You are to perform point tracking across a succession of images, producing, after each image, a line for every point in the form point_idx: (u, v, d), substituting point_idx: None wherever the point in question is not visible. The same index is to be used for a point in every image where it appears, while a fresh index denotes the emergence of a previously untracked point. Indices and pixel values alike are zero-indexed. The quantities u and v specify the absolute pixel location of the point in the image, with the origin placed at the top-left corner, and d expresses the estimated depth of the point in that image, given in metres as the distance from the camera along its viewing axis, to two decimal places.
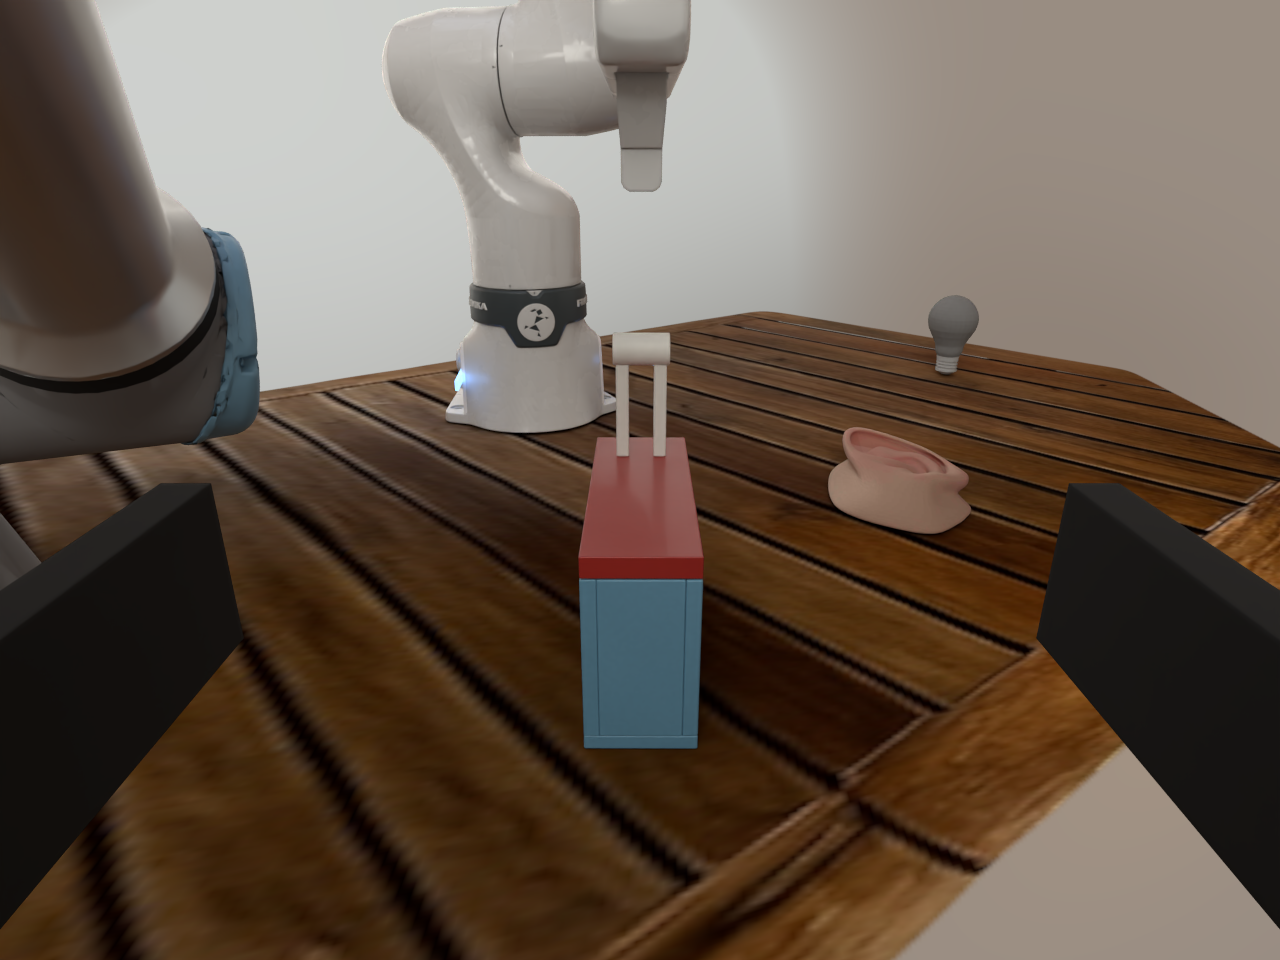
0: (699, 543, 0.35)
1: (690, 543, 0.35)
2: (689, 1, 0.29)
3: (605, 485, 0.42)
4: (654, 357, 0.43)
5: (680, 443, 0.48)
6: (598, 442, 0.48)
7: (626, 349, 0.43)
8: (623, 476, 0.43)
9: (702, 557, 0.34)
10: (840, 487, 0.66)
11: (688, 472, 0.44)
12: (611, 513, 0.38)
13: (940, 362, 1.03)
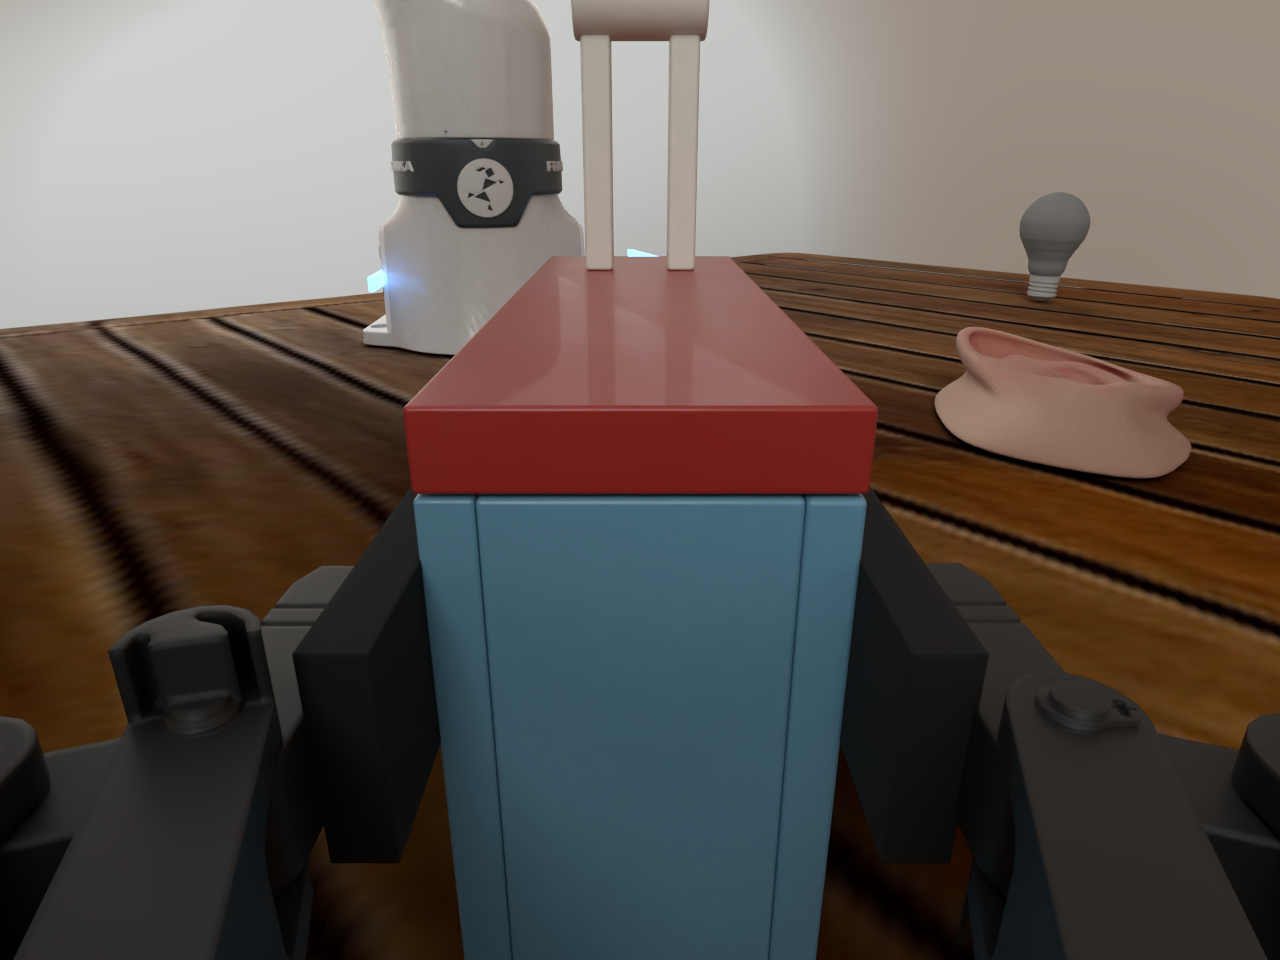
0: (843, 377, 0.10)
1: (812, 379, 0.10)
2: None
3: (549, 296, 0.17)
4: (671, 6, 0.18)
5: (723, 260, 0.23)
6: (550, 259, 0.23)
7: None
8: (597, 287, 0.18)
9: (873, 408, 0.09)
10: (963, 413, 0.41)
11: (752, 283, 0.18)
12: (553, 330, 0.13)
13: (1035, 283, 0.78)
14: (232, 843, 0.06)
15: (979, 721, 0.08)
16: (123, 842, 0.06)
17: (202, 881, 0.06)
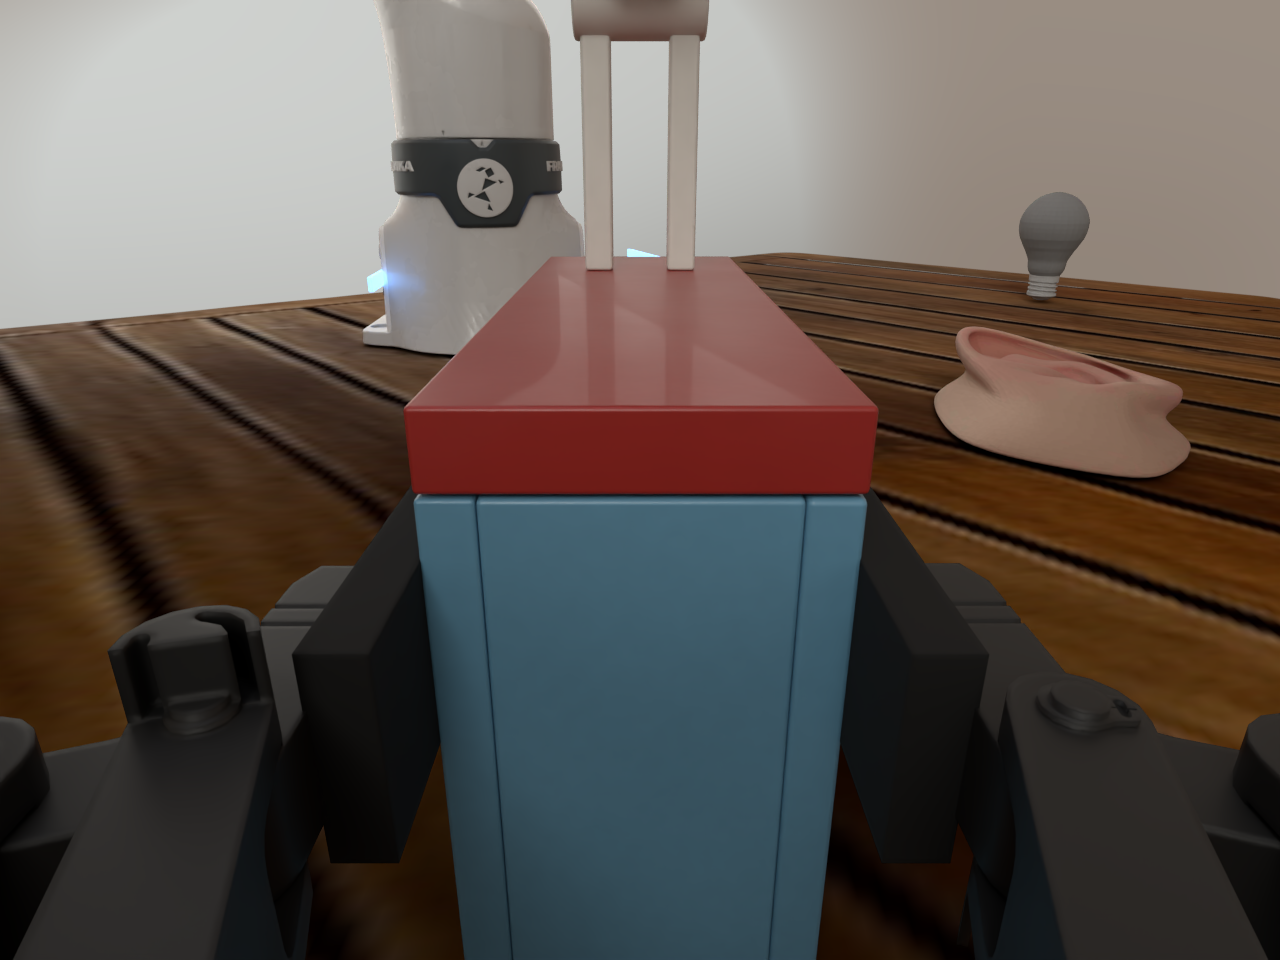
0: (843, 378, 0.10)
1: (813, 379, 0.10)
2: None
3: (549, 296, 0.17)
4: (671, 6, 0.18)
5: (722, 260, 0.23)
6: (550, 260, 0.23)
7: None
8: (596, 288, 0.18)
9: (874, 409, 0.09)
10: (962, 412, 0.41)
11: (752, 284, 0.18)
12: (552, 330, 0.13)
13: (1035, 283, 0.78)
14: (232, 843, 0.06)
15: (979, 722, 0.08)
16: (122, 841, 0.06)
17: (202, 881, 0.06)
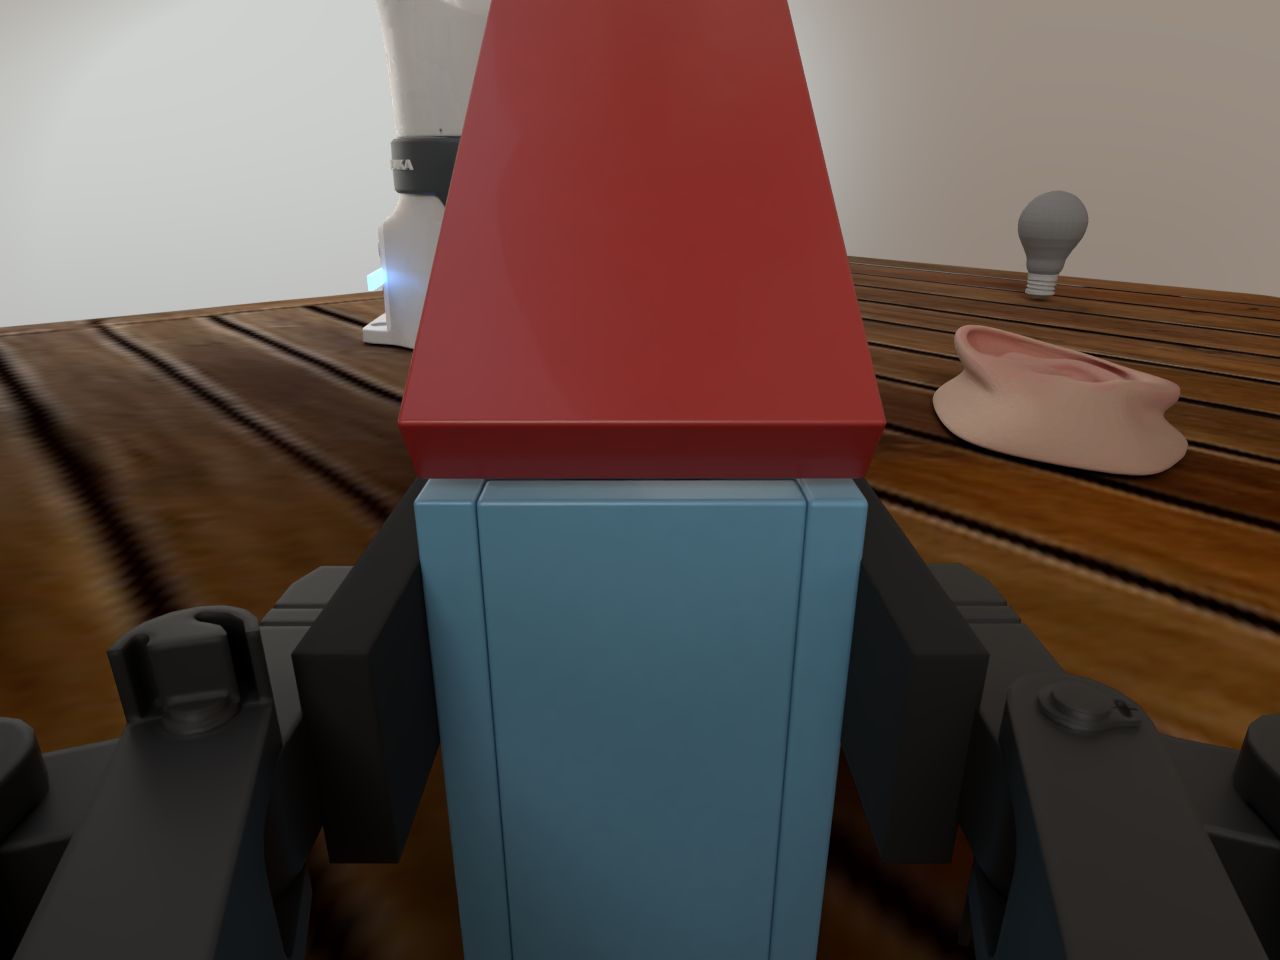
0: (859, 337, 0.09)
1: (826, 339, 0.09)
2: None
3: (528, 47, 0.13)
4: None
5: None
6: None
7: None
8: (584, 10, 0.14)
9: (882, 423, 0.09)
10: (961, 410, 0.41)
11: None
12: (539, 175, 0.11)
13: (1034, 281, 0.78)
14: (231, 843, 0.06)
15: (980, 721, 0.08)
16: (122, 842, 0.06)
17: (201, 881, 0.06)
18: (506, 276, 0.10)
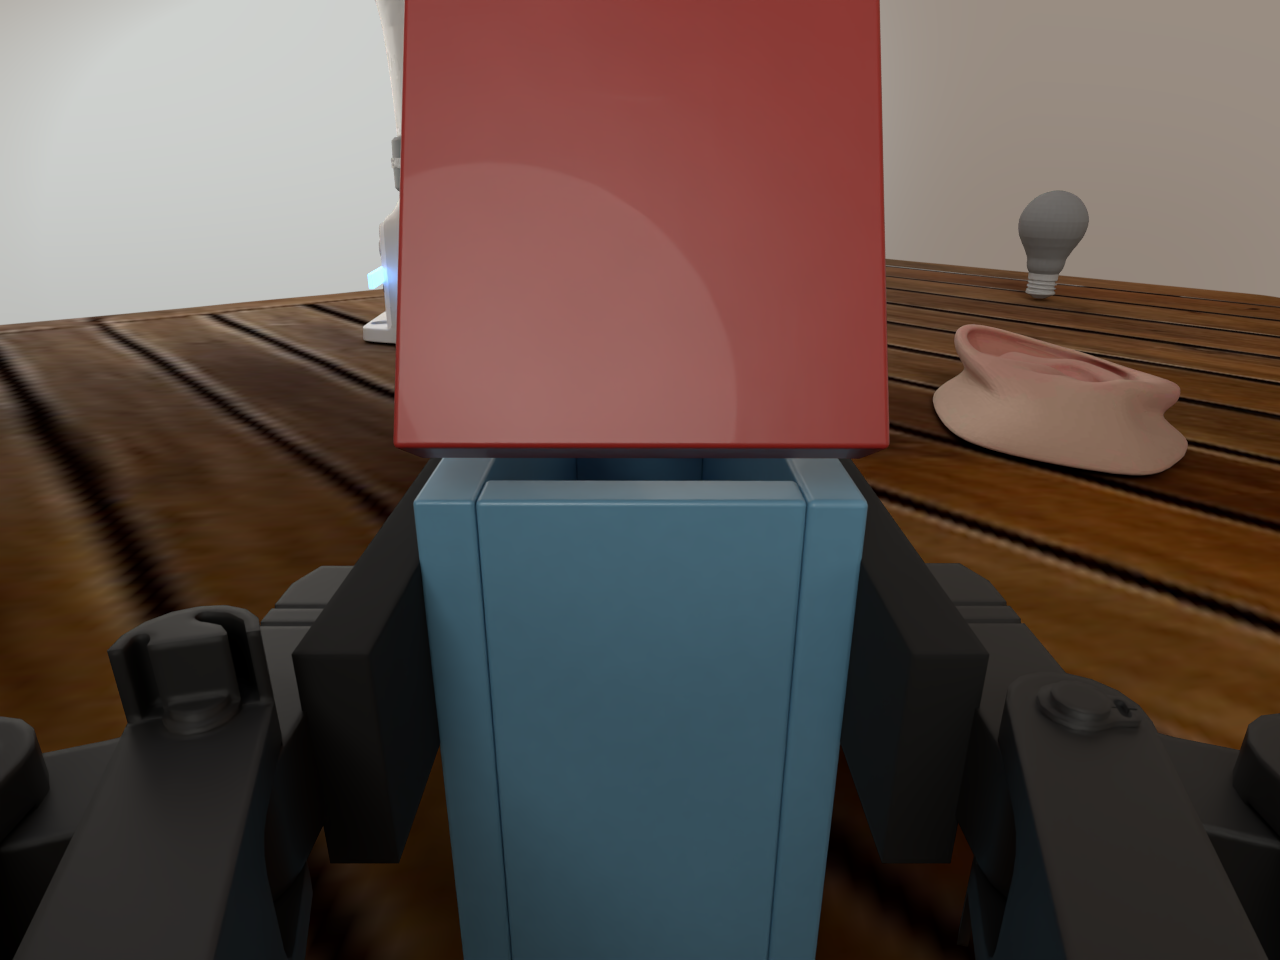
0: (879, 328, 0.09)
1: (842, 332, 0.09)
2: None
3: None
4: None
5: None
6: None
7: None
8: None
9: (884, 446, 0.09)
10: (961, 410, 0.41)
11: None
12: (514, 45, 0.09)
13: (1034, 281, 0.78)
14: (232, 843, 0.06)
15: (980, 722, 0.08)
16: (122, 841, 0.06)
17: (202, 881, 0.06)
18: (487, 230, 0.09)
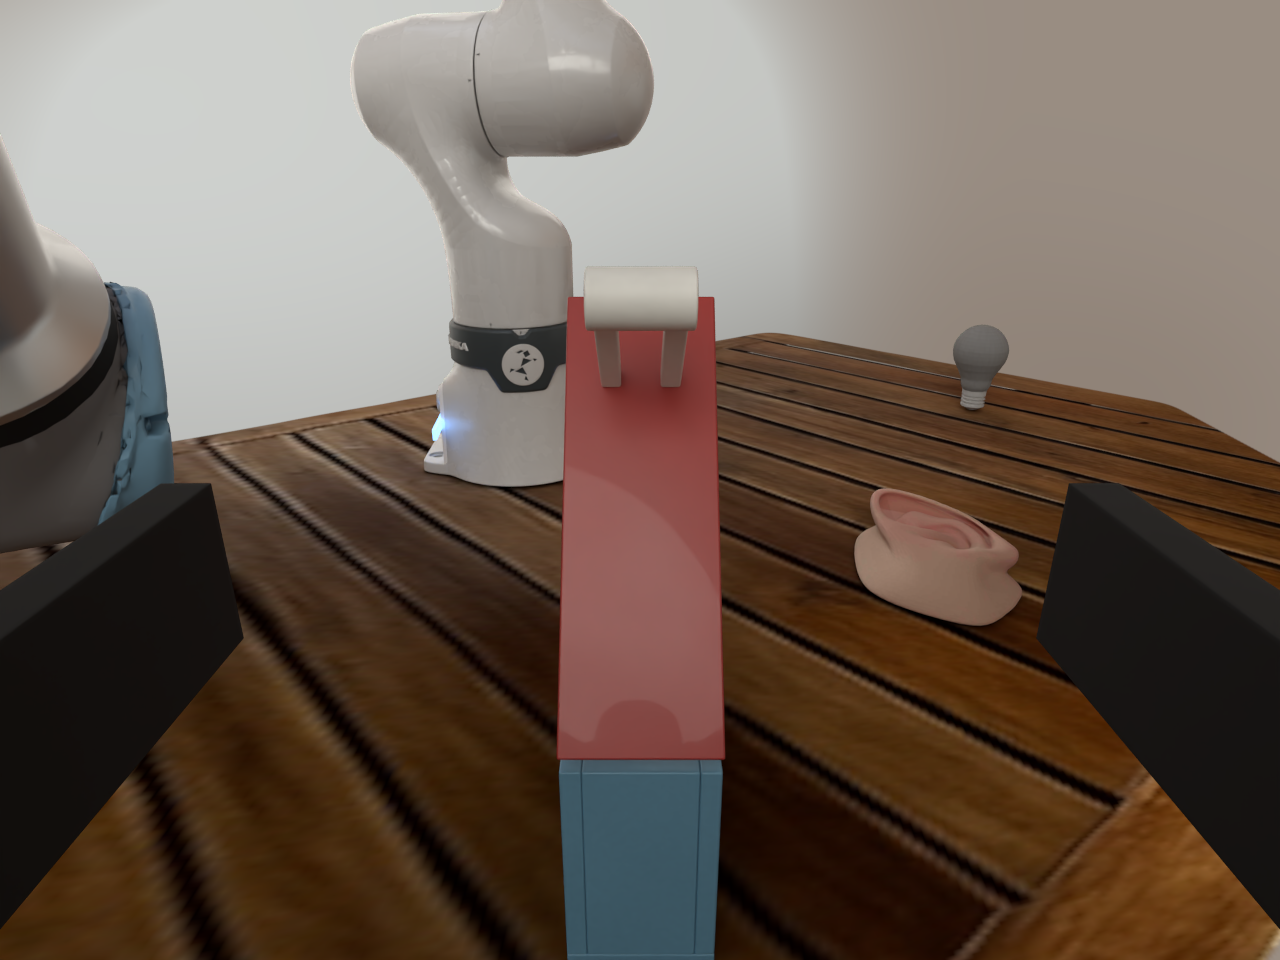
0: (721, 716, 0.26)
1: (709, 718, 0.26)
2: None
3: (585, 509, 0.27)
4: None
5: (706, 325, 0.29)
6: (570, 321, 0.29)
7: (612, 323, 0.22)
8: (613, 472, 0.28)
9: (723, 759, 0.25)
10: (869, 562, 0.57)
11: (715, 454, 0.28)
12: (597, 615, 0.26)
13: (966, 396, 0.95)
14: None
15: None
16: None
17: None
18: (588, 682, 0.26)
